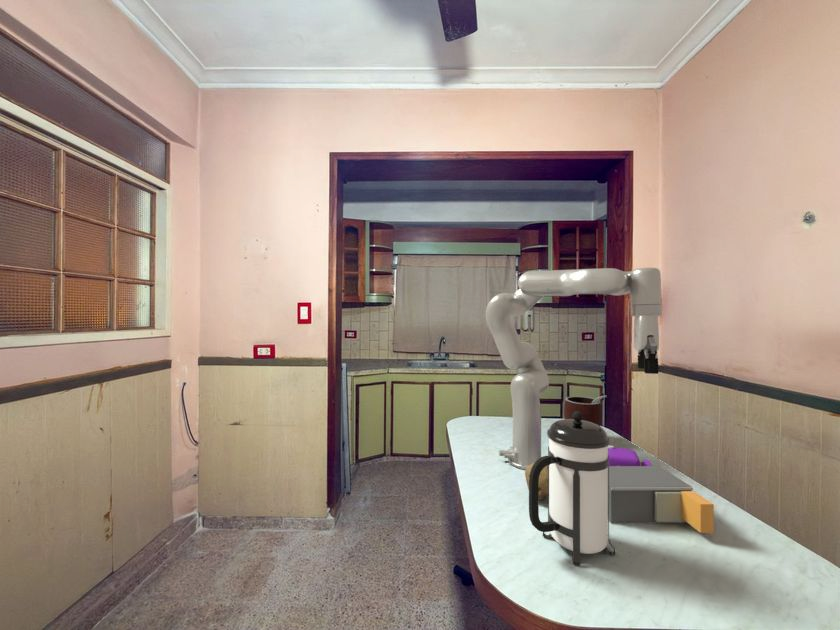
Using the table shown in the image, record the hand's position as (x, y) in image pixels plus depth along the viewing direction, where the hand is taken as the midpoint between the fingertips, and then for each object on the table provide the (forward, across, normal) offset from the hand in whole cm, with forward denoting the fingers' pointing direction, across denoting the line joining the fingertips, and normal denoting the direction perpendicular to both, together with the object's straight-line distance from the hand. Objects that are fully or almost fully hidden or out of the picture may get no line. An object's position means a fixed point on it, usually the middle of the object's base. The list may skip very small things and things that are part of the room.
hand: (647, 370), depth 103 cm
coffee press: (+35, +33, -21) cm, 53 cm away
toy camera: (+36, -6, -6) cm, 36 cm away
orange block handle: (+35, +18, +3) cm, 39 cm away
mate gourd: (+35, -38, -16) cm, 54 cm away
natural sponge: (+35, +14, -29) cm, 47 cm away
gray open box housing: (+35, +11, -6) cm, 38 cm away
